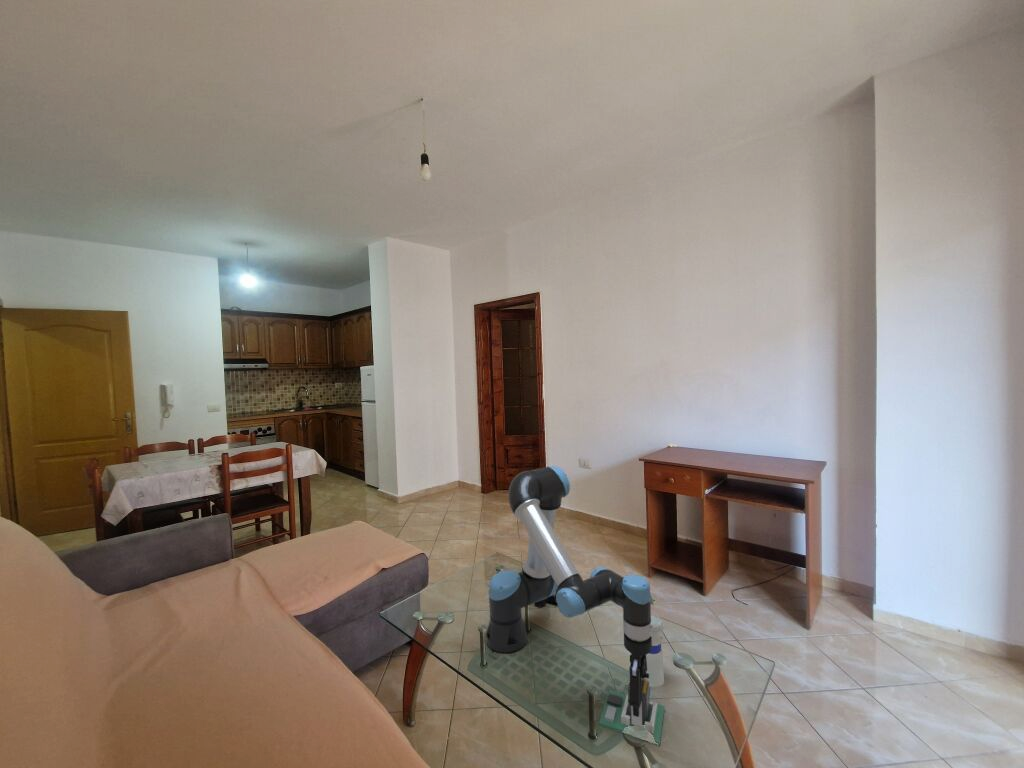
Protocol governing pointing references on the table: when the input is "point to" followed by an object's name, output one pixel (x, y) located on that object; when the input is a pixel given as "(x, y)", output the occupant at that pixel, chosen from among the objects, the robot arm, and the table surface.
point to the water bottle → (655, 653)
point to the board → (619, 718)
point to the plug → (644, 701)
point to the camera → (547, 600)
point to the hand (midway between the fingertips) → (639, 711)
